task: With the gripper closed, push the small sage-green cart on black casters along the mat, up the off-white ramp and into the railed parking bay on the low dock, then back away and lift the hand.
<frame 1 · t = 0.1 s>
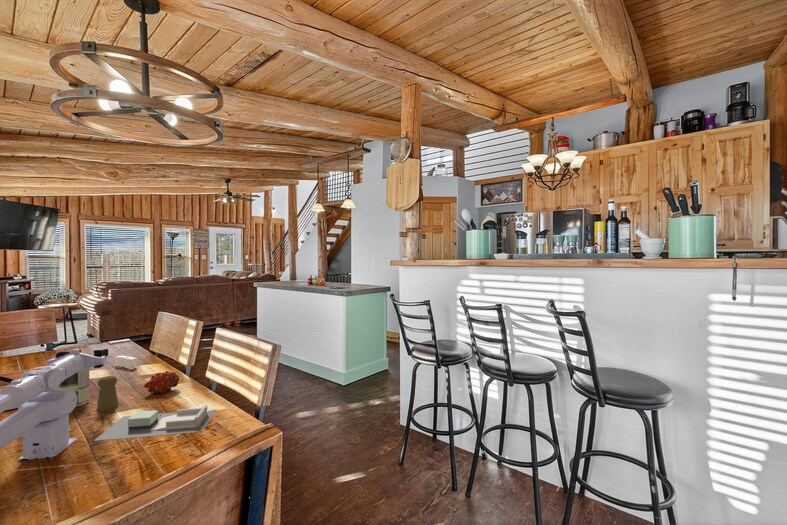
hand: (93, 352, 118), 22 cm above the table, tool horizontal, fingers open, 7 cm apart
dragon fruit: (162, 392, 141), on the table
napkin holder: (125, 369, 172), on the table
dock: (159, 424, 114), on the table
coffee can: (71, 404, 130), on the table
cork: (107, 408, 126), on the table
cart: (143, 425, 113), resting on dock
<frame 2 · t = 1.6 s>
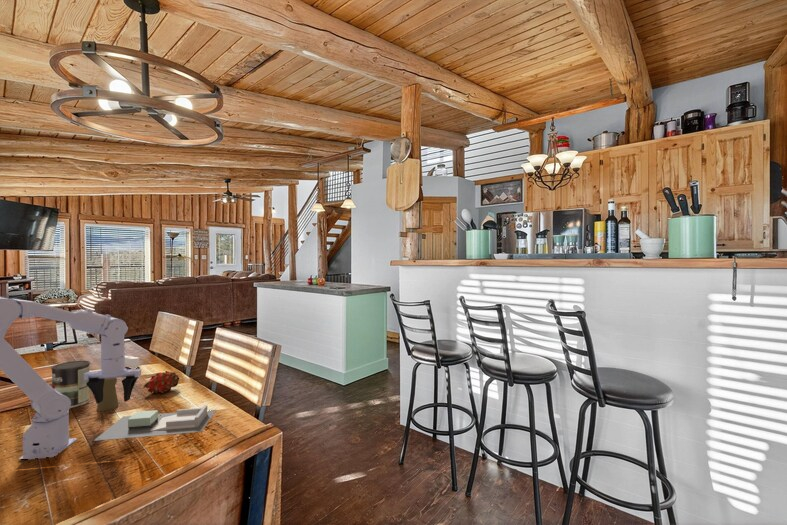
hand: (113, 401, 112), 8 cm above the table, tool pointing down, fingers open, 7 cm apart
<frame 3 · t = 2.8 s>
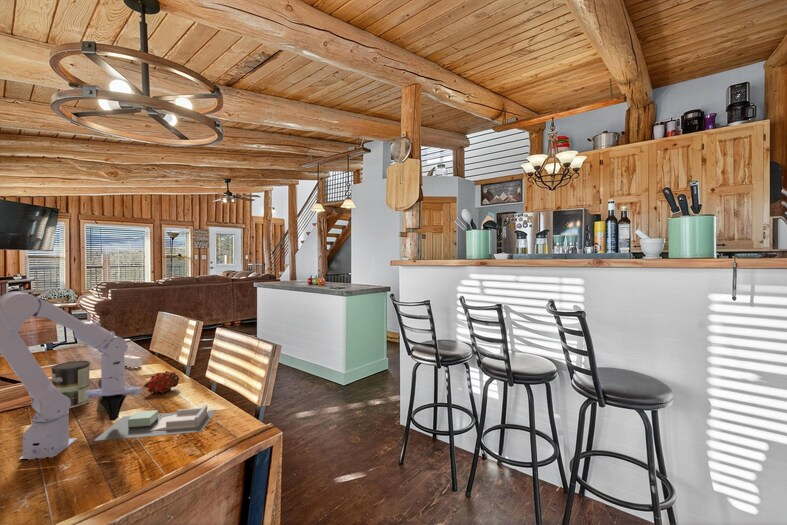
hand: (114, 419, 112), 3 cm above the table, tool pointing down, fingers closed
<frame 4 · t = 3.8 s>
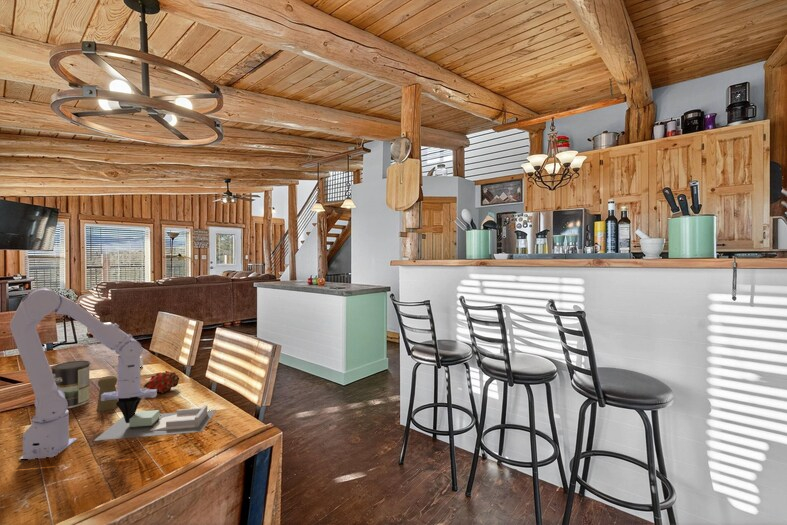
hand: (129, 421, 113), 2 cm above the table, tool pointing down, fingers closed
cart: (144, 424, 113), resting on dock, touching gripper
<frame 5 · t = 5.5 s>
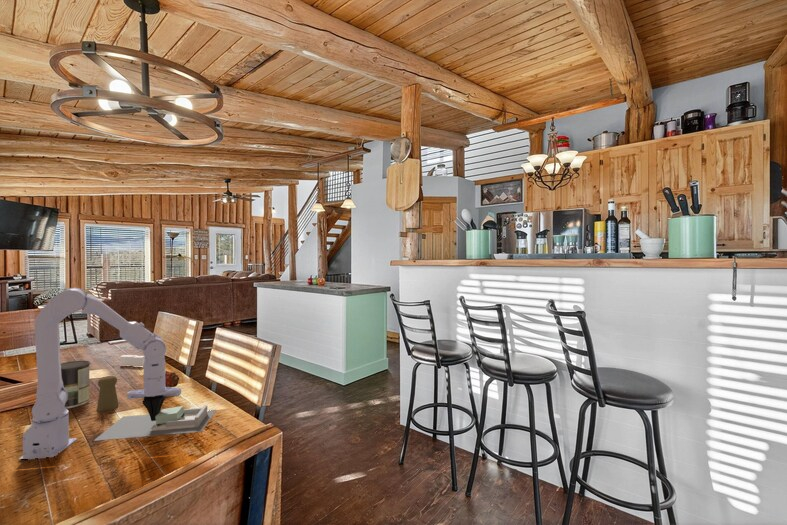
hand: (155, 419, 114), 2 cm above the table, tool pointing down, fingers closed
cart: (170, 421, 115), point 1 cm above the table, tilted 6°, touching gripper
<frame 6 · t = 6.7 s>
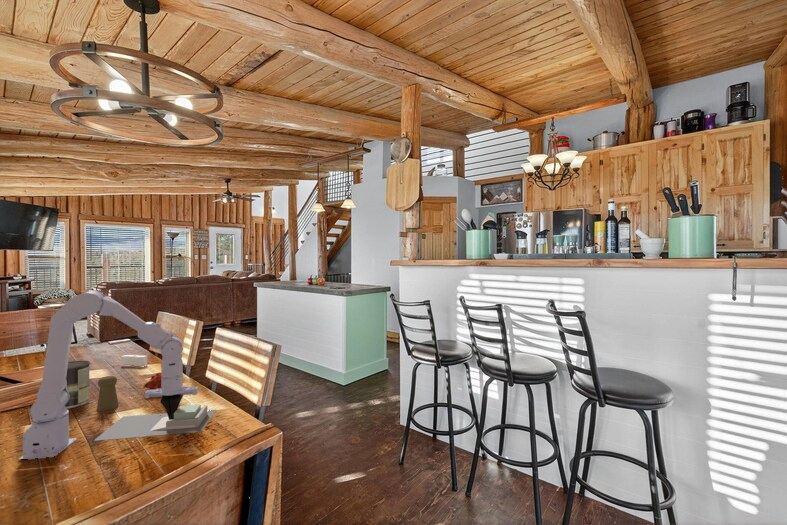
hand: (172, 418, 115), 2 cm above the table, tool pointing down, fingers closed
cart: (187, 419, 116), point 1 cm above the table, touching dock, gripper
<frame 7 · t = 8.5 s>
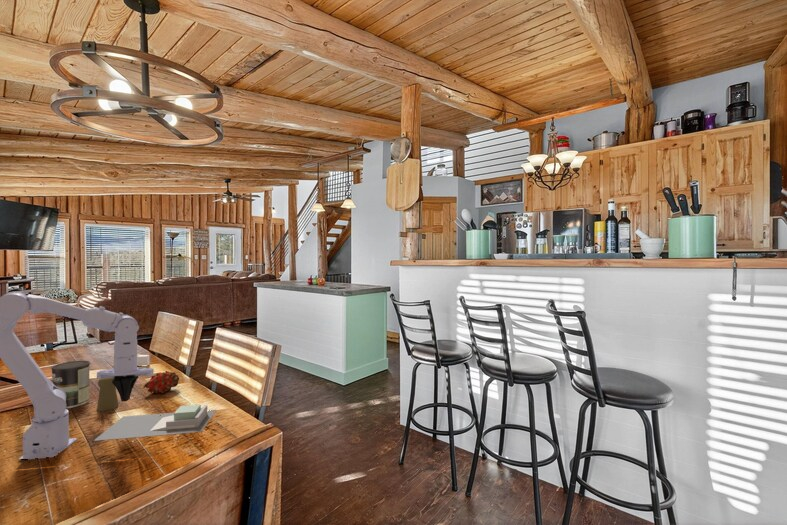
hand: (125, 400, 111), 9 cm above the table, tool pointing down, fingers closed
cart: (187, 419, 116), point 1 cm above the table, touching dock
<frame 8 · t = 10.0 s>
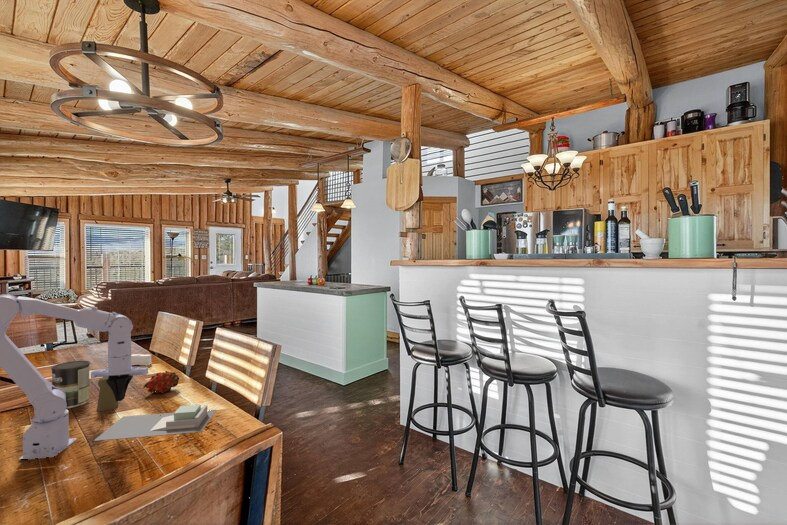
hand: (120, 399, 110), 9 cm above the table, tool pointing down, fingers closed
at the end: cart 0.1 cm from the target spot, point 1.1 cm above the table; cart tilted 0° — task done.
